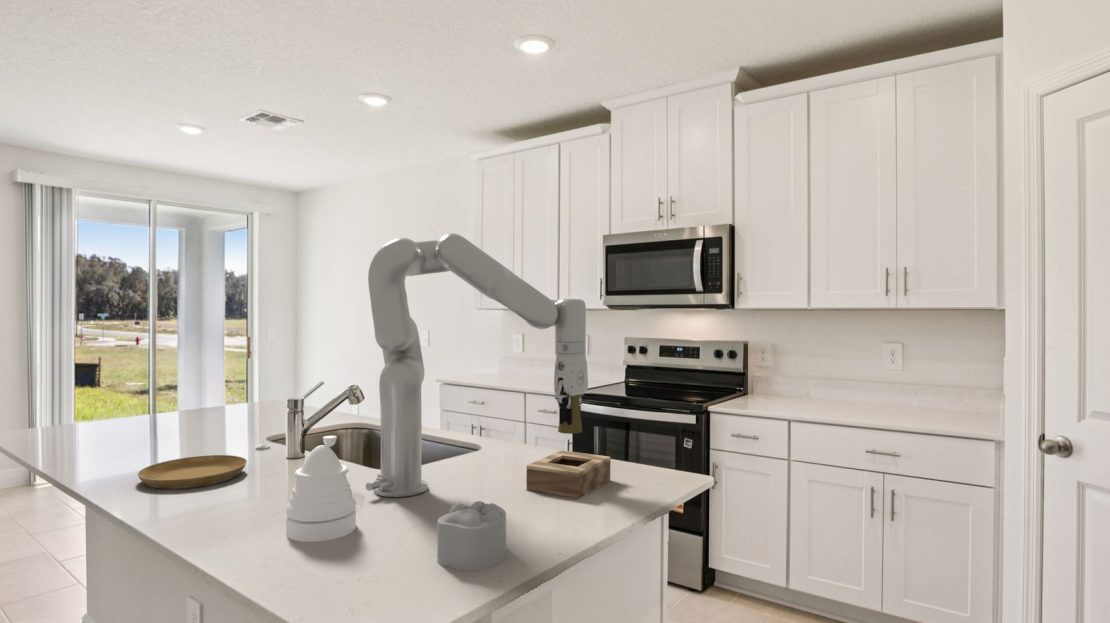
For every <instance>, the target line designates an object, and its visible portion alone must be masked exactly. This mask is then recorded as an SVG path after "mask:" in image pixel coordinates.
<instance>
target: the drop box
mask: <svg viewBox="0 0 1110 623" xmlns="http://www.w3.org/2000/svg"><path fill="white" fill-rule="evenodd" d="M610 481H611V456H607V455H599V454H591V453H583V452H577V451H568V450H560V451H557V452H555V453H553V454H551V455H548V456H546V457H543V458H541V459H538V460H535V461H533V462H531V463H528V464H527V465H526V491H530V492H534V493H535V492H536V493H540V492H541V494H547V495H553V496H558V497H564V496H567V497H566V498H570V497H573V498H572V499H576V498H579V499H581V498H583V497H585V496H586V495H587V493H588V494H589V492H590V491H591V492H593V491H595V490H597V489H598V488H599V486H600V487H602V486H603V485H605V484H607V483H609V482H610ZM606 482H607V483H606ZM604 483H605V484H604ZM601 485H602V486H601ZM597 487H598V488H597ZM594 489H595V490H594ZM592 490H593V491H592ZM591 492H590V493H591ZM585 494H586V495H585ZM582 496H583V497H582ZM580 497H581V498H580Z"/></svg>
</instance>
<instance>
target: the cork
mask: <svg viewBox="0 0 1110 623" xmlns="http://www.w3.org/2000/svg"><path fill="white" fill-rule="evenodd" d="M562 395H568V394H566V393H563V394H562ZM580 397H581V394H579V395H577V396H571V406H570V408H572V424H571V425H568V424H567V422H564V423H563V424H560V423H559V422H558V430H557V431H558V433H561V434H565V435H566V434H569V435H570V434H571V435H573V434H581V433H582V432H583V426H582V425H583V424H582V417H581V416H582V415H581V416H580V408H579V406H580V405H579V399H580ZM565 399H566V401H567V398H565Z"/></svg>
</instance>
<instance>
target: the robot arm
mask: <svg viewBox="0 0 1110 623" xmlns="http://www.w3.org/2000/svg"><path fill="white" fill-rule="evenodd" d="M447 272H451V273H452V274H454V275H456V276H457V277H458V278H460V279H461V280H462V281H464V282H466V283H467V284H468V285H470V286H471V287H472V288H473V289H475V290H477V291H478V292H479V293H480V294H482V295H484V296H486V297H487V298H489V299H490V300H494V301H495V302H497V303H500V304H501V305H502V306H504V307H506V308H507V309H509V310H510V311H511V312H512V313H514V314H516V315H517V316H518V317H520V318H522V320H524V321H525V322H526V324H528V325H529V326H531V327H533V328H535V329H538V330H545V329H549V328H551V327H554V328H555V329H554V331H555V332H554V333H555V334H554V335H555V336H554V339H555V340H554V344H555V347H554V352H555V354H554V355H555V361H554V373H553V374H554V377H553V391H554V399H555V401H556V402H557V404H558V407H557V408H558V410H559V414H558V415H559V416H558V417H559V418H558V419H559V420H558V421H559V422H558V424H559V423H560V424H563V423H564V422H567V424H568V425H571V424H572V408H570V406H571V396H577V395H579V394H581V397H580V399H579V408H580V416H582V409H581V408H582V405H583V404H582V399H583V396H584V394H586V393H587V392H588V391H589V378H588V377H589V376H588V364H587V363H588V362H587V357H586V356H587V355H586V348H587V347H586V346H587V345H586V344H587V343H586V342H587V341H586V335H587V334H586V333H587V332H586V331H587V329H586V327H587V325H586V324H587V321H586V319H587V316H586V313H587V307H586V306H587V305H586V302H585V301H584V300H583V299H579V298H561V299H556V300H555V299H550V298H549V297H548V296H546V295H545V294H544V293H542V292H540V291H539V290H537V289H536V288H535V287H533V286H532V285H531V284H529V283H527V281H525V280H523V279H522V278H521V277H519V276H518V275H516V274H515V273H514V272H513V271H511V270H510V269H509V268H508V267H506V266H504V265H503V264H502V263H501V262H499V261H498V260H496V259H495V258H493V257H492V256H490V255H489V254H488V253H486V252H485V251H484V250H482V249H481V248H480V247H478V246H477V245H475V244H474V243H472V242H471V241H470V240H468V238H467V239H466V238H465V237H464V236H462V235H460V234H457V233H448V234H445V235H443V236H442V237H441V238H439V239H433V240H432V239H431V240H422V241H414V240H412V239H410V238H407V237H399V238H395V239H393V240H392V239H391V241H388V242H387V243H385V244H384V245H383V246H382V247H380V248H379V250H378V251H377V252H376V253H375V255H374V256H373V258H372V260H371V262H370V264H369V268H368V273H367V274H368V276H367V277H368V278H367V282H368V292H369V299H370V306H371V314H372V315H371V316H372V320H373V328H374V337H375V340H376V344H377V345H378V347H379V348H381V349H382V355H383V361H384V366H383V368H382V370H381V372H380V375H379V383H378V388H379V390H378V391H379V404H380V408H379V409H380V473H378V474H377V478H376V479H375V480H371V481H368V482H367V483H366V484H365V489H366V491H368V492H371V491H373V492H374V493H375V495H378V496H382V497H386V498H388V497H389V498H403V497H412V496H416V495H421V494H422V493H424V492H426V491H428V488H429V484H428V482H427V481H426V480H424V479H422V443H423V442H422V428H423V426H422V425H423V424H422V384H423V382H424V379H425V365H424V359H423V354H422V346H421V340H420V336H419V335H420V334H419V330H418V326H417V323H416V322H415V320H414V319H413V318H412V317H411V314H410V309H409V304H408V295H407V289H406V283H405V282H406V277H408V276H409V277H413V276H422V275H431V274H438V273H447ZM563 393H566V394H568V395H562V394H563ZM565 398H567V401H566V399H565Z"/></svg>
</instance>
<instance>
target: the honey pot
mask: <svg viewBox="0 0 1110 623" xmlns="http://www.w3.org/2000/svg"><path fill="white" fill-rule="evenodd" d="M337 438H338V436H336V435H325V436H323V437H322V440H323V444H321V445H318V446H316V447H314V448H313V449H312V450H311V451H310V452H309V454H308V455H307V457H306V458H305V460H304V462H303V464H302V467H300V468H297V469H296V470H295V471H294V477H295V478H296V481H295V484H294V486H293V487H292V489H291V492H292V493H291V494H290V496H289V497H290V498H289V502H288V503H287V505H286V509H285V511H286V514H285V516H286V519H285V522H286V524H285V525H286V526H285V527H286V528H285V529H286V530H285V533H286V534H285V535H286V537H287V538H288V539H289V540H292V541H296V542H301V543H314V542H315V543H316V542H318V543H319V542H326V541H332V540H336V539H339V538H343V537H345V536H347V535H349V534H351V533H352V532H355V529H356V525H357V520H356V519H357V518H356V517H357V516H356V512H357V511H356V497H355V496H354V495H353V491H352V489H351V482H349V480H348V478H347V476H346V474H347V473H348V472H349V467H348V466H347V465H345V464H342V463H341V462H340V460H339V457H338V456H337V454H336V453H335V452H334V451H333V450H332V448H331V447H333V446H334V445H335V444H336V442H337Z"/></svg>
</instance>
